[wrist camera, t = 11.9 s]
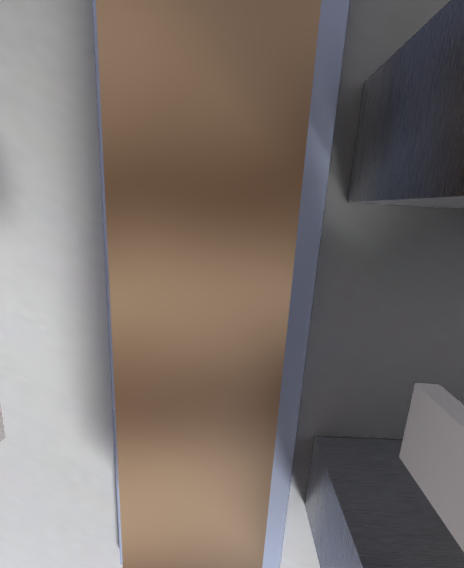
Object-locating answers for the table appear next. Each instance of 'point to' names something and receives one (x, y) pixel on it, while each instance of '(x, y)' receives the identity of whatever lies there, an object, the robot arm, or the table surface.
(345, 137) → the table surface
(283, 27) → the oak rail
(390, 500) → the stand
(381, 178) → the stand
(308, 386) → the table surface
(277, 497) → the felt pad
